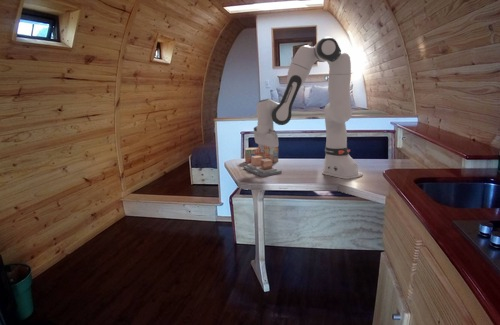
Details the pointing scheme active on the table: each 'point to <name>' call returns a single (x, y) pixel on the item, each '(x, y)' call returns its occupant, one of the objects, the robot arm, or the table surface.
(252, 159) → the assembly plate
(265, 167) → the terracotta block
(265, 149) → the stack of blocks
